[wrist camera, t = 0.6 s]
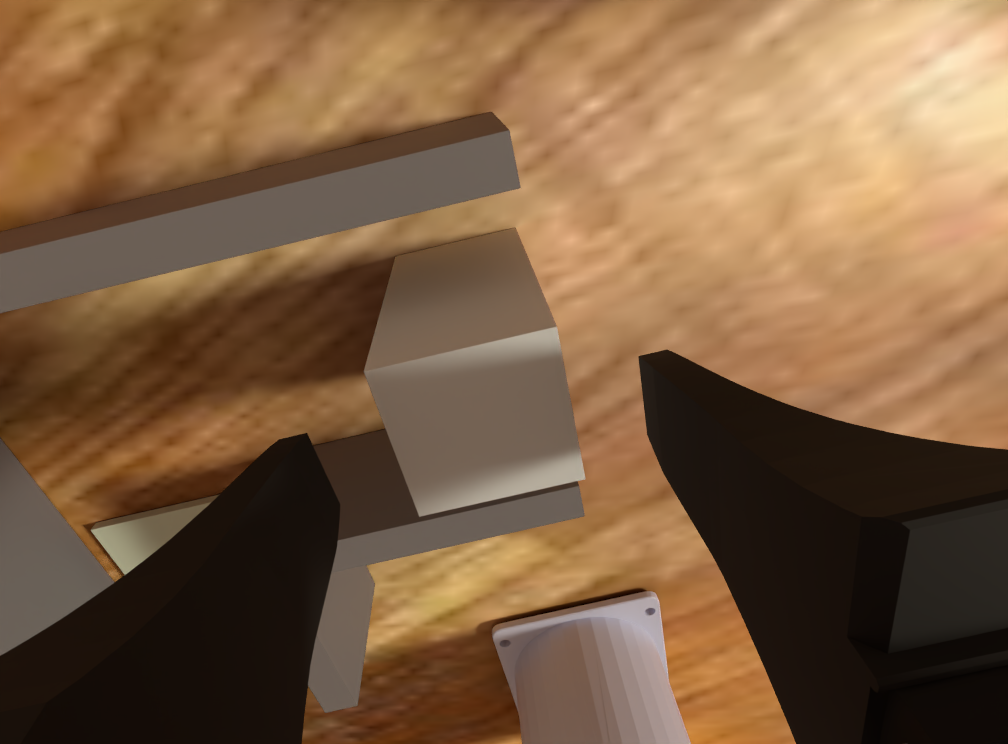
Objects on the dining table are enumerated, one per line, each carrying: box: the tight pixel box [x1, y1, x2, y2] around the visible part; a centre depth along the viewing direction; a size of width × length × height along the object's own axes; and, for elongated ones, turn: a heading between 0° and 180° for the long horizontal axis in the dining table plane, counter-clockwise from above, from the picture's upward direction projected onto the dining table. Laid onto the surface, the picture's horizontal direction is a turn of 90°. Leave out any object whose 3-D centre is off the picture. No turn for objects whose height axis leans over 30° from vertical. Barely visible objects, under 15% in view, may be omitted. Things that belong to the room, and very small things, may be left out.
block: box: [364, 228, 585, 517], centre depth 16 cm, size 4×4×8 cm
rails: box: [0, 112, 585, 713], centre depth 19 cm, size 18×21×6 cm
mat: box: [91, 494, 220, 575], centre depth 24 cm, size 7×7×1 cm
